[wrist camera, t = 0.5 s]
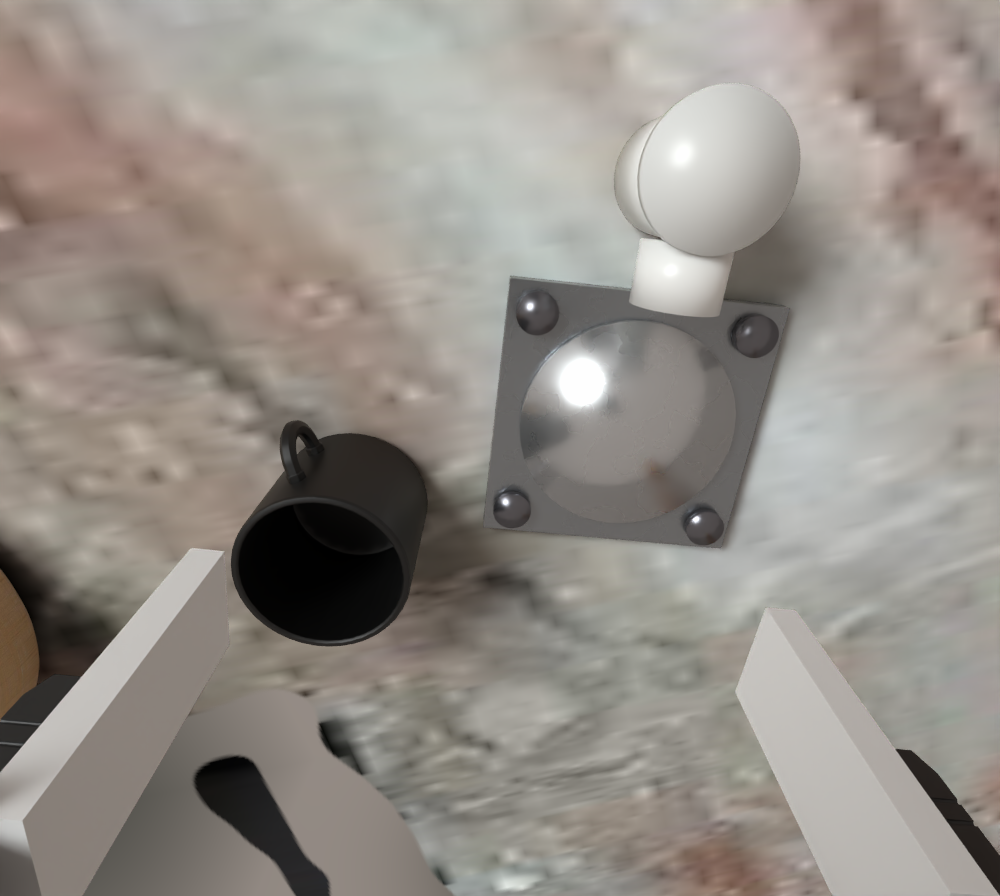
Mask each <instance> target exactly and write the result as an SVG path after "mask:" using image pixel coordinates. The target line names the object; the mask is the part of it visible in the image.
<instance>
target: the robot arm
mask: <svg viewBox="0 0 1000 896" xmlns="http://www.w3.org/2000/svg"><path fill="white" fill-rule="evenodd" d="M229 645H230V641H229V623H228V605H227V587H226V570H225V552H224V551H216V550H206V549H196V548H191V549H190V550H189V551H188V552H187V553H186V555H185V556H184V557H183V558H182V559H181V561H180V562H179V563H178V564H177V565H176V566H175V568H174V569H173V570H172V571H171V572H170V573H169V575H168V576H167V577H166V578H165V579H164V581H163V582H162V583H161V584H160V585H159V586H158V588H157V589H156V590H155V591H154V592H153V593H152V595H151V596H150V597H149V598H148V599H147V600H146V602H145V603H144V604H143V605H142V606H141V608H140V609H139V610H138V611H137V612H136V613H135V615H134V616H133V617H132V618H131V619H130V620H129V622H128V623H127V624H126V625H125V626H124V628H123V629H122V630H121V631H120V632H119V633H118V635H117V636H116V637H115V638H114V639H113V640H112V642H111V643H110V644H109V645H108V646H107V648H106V649H105V650H104V651H103V652H102V653H101V655H100V656H99V657H98V658H97V659H96V660H95V662H94V663H93V664H92V665H91V666H90V668H89V669H88V670H87V671H86V672H85V673H84V675H83V676H82V677H79V676H68V675H57V674H54V675H53V676H51V677H49V678H48V679H46V680H45V681H43V682H42V683H40V684H39V685H37V686H36V687H34V688H32V689H31V690H29V691H28V692H26V693H25V694H23V695H22V696H21V697H20V698H19V700H18V701H17V702H16V703H15V704H14V705H13V706H12V707H11V708H10V709H9V710H8V711H7V712H6V713H5V715H4V716H3V717H2V718H1V720H0V896H82V895H83V894H84V892H85V890H86V889H87V887H88V885H89V884H90V882H91V880H92V878H93V877H94V875H95V873H96V872H97V870H98V868H99V866H100V865H101V863H102V861H103V859H104V858H105V856H106V855H107V852H108V851H109V849H110V848H111V846H112V844H113V842H114V841H115V839H116V837H117V836H118V834H119V832H120V830H121V829H122V827H123V825H124V824H125V822H126V820H127V819H128V817H129V815H130V813H131V812H132V810H133V808H134V807H135V805H136V803H137V801H138V800H139V798H140V796H141V794H142V793H143V791H144V790H145V788H146V786H147V785H148V783H149V781H150V779H151V778H152V776H153V774H154V772H155V771H156V769H157V767H158V766H159V764H160V762H161V761H162V759H163V757H164V756H165V754H166V752H167V750H168V749H169V747H170V745H171V744H172V742H173V740H174V738H175V737H176V735H177V733H178V732H179V730H180V728H181V726H182V725H183V723H184V721H185V720H186V718H187V716H188V715H189V713H190V711H191V709H192V708H193V706H194V704H195V703H196V701H197V699H198V697H199V696H200V694H201V692H202V691H203V689H204V687H205V686H206V684H207V682H208V680H209V679H210V677H211V675H212V674H213V672H214V670H215V668H216V667H217V665H218V663H219V662H220V660H221V658H222V656H223V655H224V653H225V651H226V650H227V648H228V646H229ZM735 693H736V695H737V697H738V699H739V701H740V703H741V705H742V708H743V710H744V712H745V714H746V716H747V718H748V720H749V722H750V724H751V726H752V729H753V731H754V733H755V735H756V737H757V739H758V741H759V743H760V745H761V747H762V750H763V752H764V754H765V756H766V758H767V760H768V762H769V764H770V766H771V768H772V771H773V773H774V775H775V777H776V779H777V781H778V783H779V785H780V787H781V789H782V791H783V794H784V796H785V798H786V800H787V802H788V804H789V806H790V808H791V810H792V812H793V815H794V817H795V819H796V821H797V823H798V825H799V827H800V829H801V831H802V833H803V836H804V838H805V840H806V842H807V844H808V846H809V848H810V850H811V852H812V854H813V857H814V859H815V861H816V863H817V865H818V867H819V869H820V871H821V873H822V875H823V878H824V880H825V882H826V884H827V886H828V888H829V890H830V892H831V894H832V896H1000V855H999V854H998V853H997V851H996V850H995V849H994V848H993V846H992V845H991V844H990V842H989V841H988V840H987V838H986V837H985V836H984V834H983V833H982V832H981V830H980V829H979V828H978V827H976V826H974V824H973V820H972V818H971V817H970V816H969V814H968V813H967V812H966V811H965V809H964V808H963V807H962V805H958V803H957V799H956V797H955V796H954V795H953V793H952V792H951V791H950V789H949V788H948V787H947V785H946V784H945V783H944V781H943V780H942V779H941V777H940V776H939V775H938V774H937V773H936V772H935V771H934V770H933V769H932V768H931V767H929V766H928V765H927V764H926V763H925V762H924V761H923V760H921V759H920V758H919V757H918V756H917V755H916V754H915V753H913V752H912V751H911V750H901V749H895V748H894V747H893V746H892V744H891V743H890V741H889V740H888V739H887V737H886V736H885V734H884V733H883V732H882V730H881V729H880V727H879V726H878V725H877V723H876V722H875V720H874V719H873V718H872V716H871V715H870V713H869V712H868V711H867V709H866V708H865V706H864V705H863V704H862V702H861V701H860V699H859V698H858V697H857V695H856V694H855V692H854V691H853V690H852V688H851V687H850V685H849V684H848V683H847V681H846V680H845V678H844V677H843V675H842V674H841V673H840V671H839V670H838V668H837V667H836V666H835V664H834V663H833V661H832V660H831V659H830V657H829V656H828V654H827V653H826V652H825V650H824V649H823V647H822V646H821V645H820V643H819V642H818V640H817V639H816V638H815V636H814V635H813V633H812V632H811V631H810V629H809V628H808V626H807V625H806V624H805V622H804V621H803V619H802V618H801V617H800V615H799V614H798V612H797V611H796V610H789V609H779V608H769V607H766V608H765V611H764V614H763V617H762V619H761V622H760V625H759V628H758V630H757V633H756V636H755V639H754V641H753V644H752V647H751V650H750V652H749V655H748V658H747V661H746V663H745V666H744V669H743V672H742V674H741V677H740V680H739V683H738V686H737V688H736V691H735Z"/></svg>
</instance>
